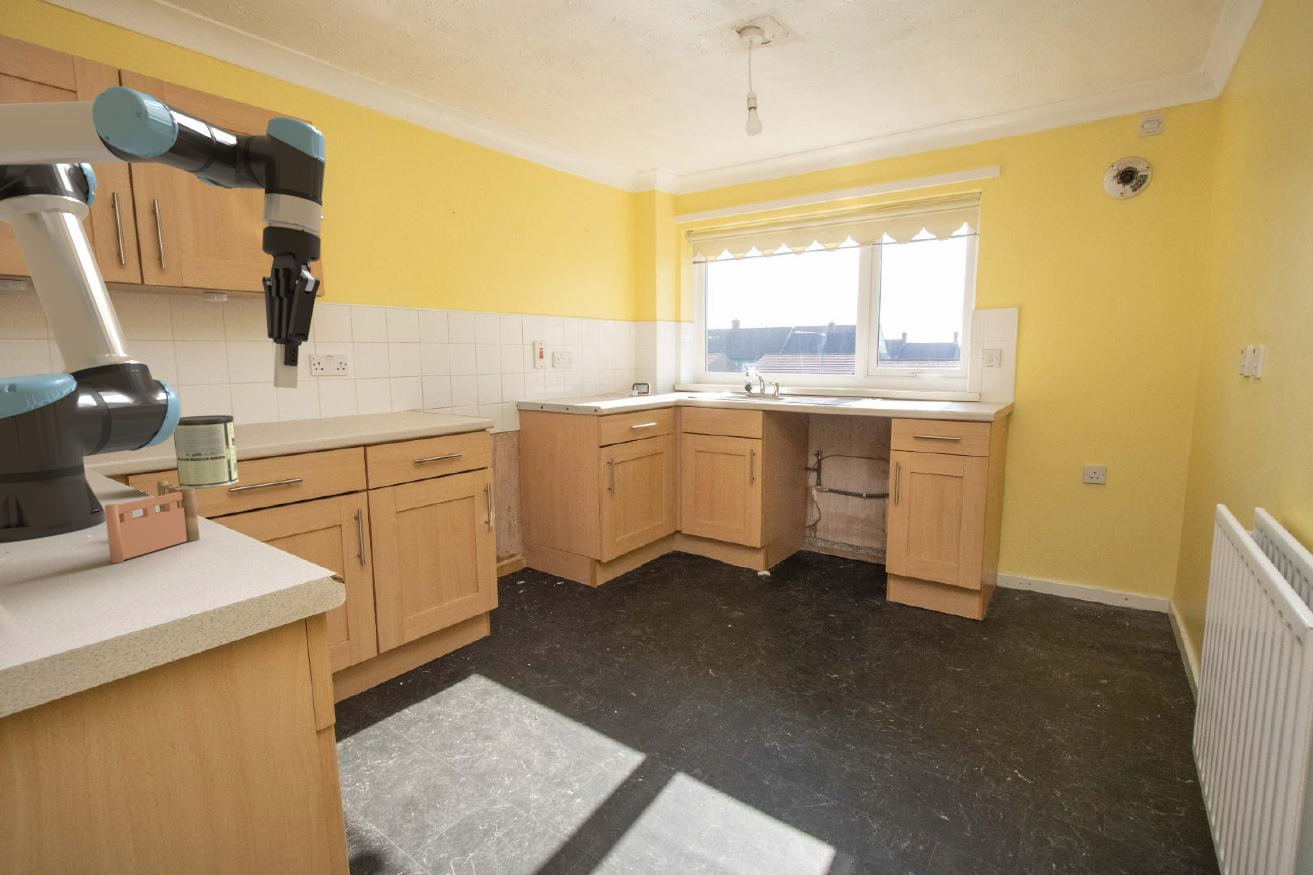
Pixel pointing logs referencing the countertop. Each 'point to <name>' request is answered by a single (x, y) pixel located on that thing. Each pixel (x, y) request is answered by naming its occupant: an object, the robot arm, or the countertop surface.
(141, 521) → the fence gate
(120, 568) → the countertop surface
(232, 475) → the coffee can
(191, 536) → the fence anchor
